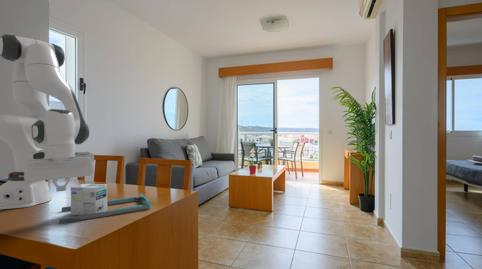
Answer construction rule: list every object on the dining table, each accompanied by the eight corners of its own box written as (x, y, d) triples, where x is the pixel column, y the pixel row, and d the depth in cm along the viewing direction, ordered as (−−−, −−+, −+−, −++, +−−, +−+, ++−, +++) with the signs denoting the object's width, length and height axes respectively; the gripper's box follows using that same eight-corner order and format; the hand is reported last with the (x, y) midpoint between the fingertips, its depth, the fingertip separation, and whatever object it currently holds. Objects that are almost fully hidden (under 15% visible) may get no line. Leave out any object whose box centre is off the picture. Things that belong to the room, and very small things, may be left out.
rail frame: (59, 223, 82) (59, 215, 82) (61, 211, 95) (61, 203, 95) (150, 208, 99) (150, 201, 99) (142, 199, 112) (142, 193, 112)
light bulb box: (107, 210, 96) (108, 183, 96) (96, 216, 90) (96, 187, 89) (83, 209, 97) (83, 183, 97) (69, 215, 91) (69, 186, 91)
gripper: (93, 151, 96) (94, 185, 96) (26, 154, 85) (26, 193, 85) (94, 151, 91) (95, 188, 91) (22, 155, 80) (23, 196, 80)
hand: (61, 190), depth 88 cm, fingers closed
